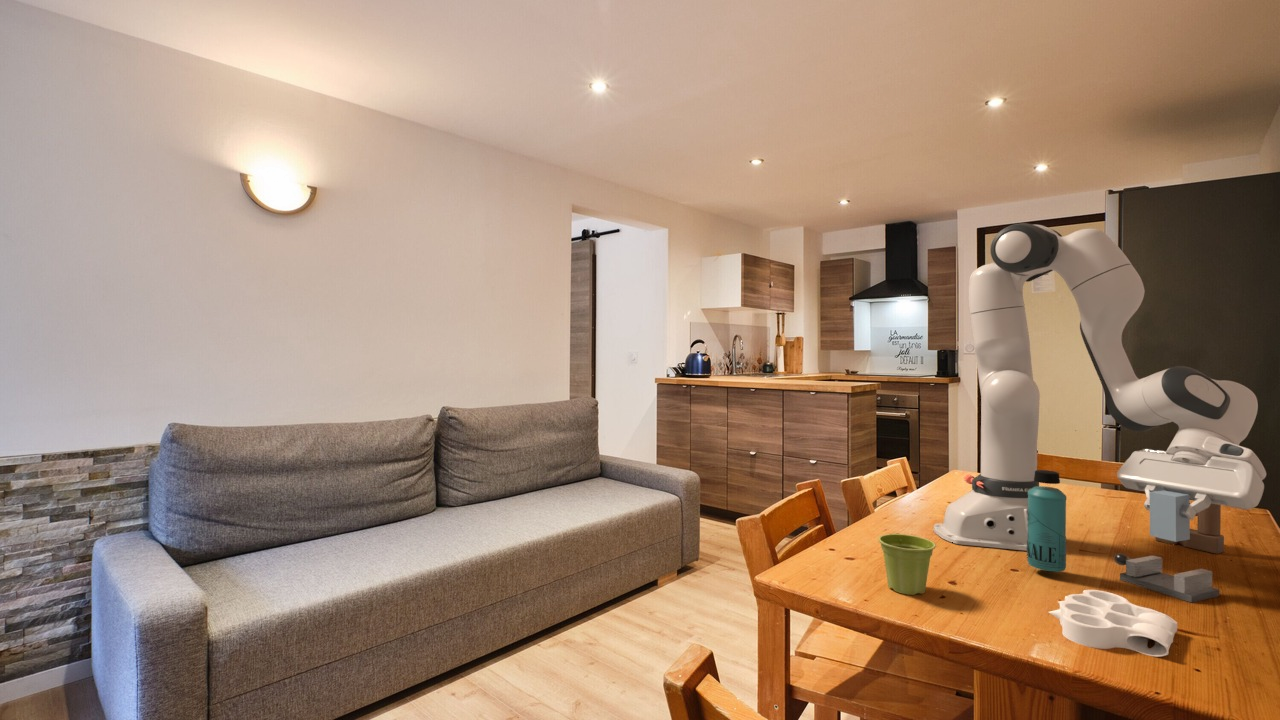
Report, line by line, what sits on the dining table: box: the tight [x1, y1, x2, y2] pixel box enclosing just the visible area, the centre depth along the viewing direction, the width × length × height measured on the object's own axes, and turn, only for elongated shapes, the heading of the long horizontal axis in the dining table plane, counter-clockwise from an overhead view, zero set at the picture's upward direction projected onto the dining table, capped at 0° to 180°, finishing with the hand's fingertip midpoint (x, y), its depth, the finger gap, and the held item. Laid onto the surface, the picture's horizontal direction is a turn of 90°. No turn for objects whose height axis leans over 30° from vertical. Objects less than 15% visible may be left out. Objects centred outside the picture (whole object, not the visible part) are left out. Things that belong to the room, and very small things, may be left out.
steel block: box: [1149, 490, 1191, 542], centre depth 107 cm, size 4×4×8 cm
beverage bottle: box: [1026, 469, 1067, 572], centre depth 114 cm, size 6×7×20 cm
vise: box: [1119, 568, 1220, 603], centre depth 107 cm, size 8×11×4 cm
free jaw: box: [1113, 553, 1163, 577], centre depth 113 cm, size 8×6×3 cm
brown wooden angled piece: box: [1154, 502, 1225, 555], centre depth 131 cm, size 4×11×18 cm, turn 29°
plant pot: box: [878, 533, 936, 596], centre depth 107 cm, size 9×9×9 cm
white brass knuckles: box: [1047, 589, 1178, 658], centre depth 91 cm, size 3×18×15 cm
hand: (1167, 512), depth 107 cm, fingers closed on steel block, 4 cm apart
